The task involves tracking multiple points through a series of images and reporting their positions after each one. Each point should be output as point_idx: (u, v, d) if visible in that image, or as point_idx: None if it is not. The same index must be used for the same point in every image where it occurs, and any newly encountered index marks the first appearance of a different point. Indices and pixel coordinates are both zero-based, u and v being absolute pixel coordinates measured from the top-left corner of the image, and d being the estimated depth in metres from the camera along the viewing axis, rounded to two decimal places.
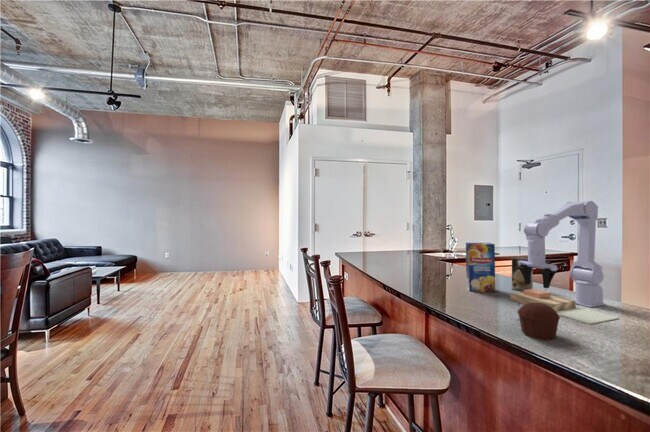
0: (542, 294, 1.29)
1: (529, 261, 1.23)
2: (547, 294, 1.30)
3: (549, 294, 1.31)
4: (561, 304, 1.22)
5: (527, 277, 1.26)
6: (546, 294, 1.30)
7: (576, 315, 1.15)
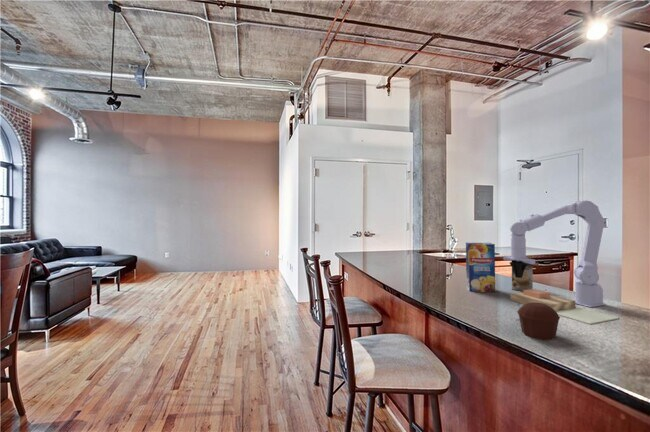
0: (542, 294, 1.29)
1: (512, 256, 1.41)
2: (547, 294, 1.30)
3: (549, 294, 1.31)
4: (561, 304, 1.22)
5: (517, 271, 1.41)
6: (546, 294, 1.30)
7: (576, 315, 1.15)
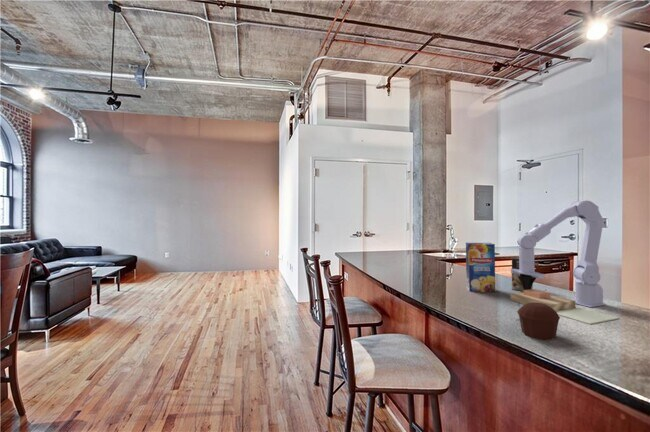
0: (542, 294, 1.29)
1: (520, 270, 1.37)
2: (547, 294, 1.30)
3: (549, 294, 1.31)
4: (561, 304, 1.22)
5: None
6: (546, 294, 1.30)
7: (576, 315, 1.15)
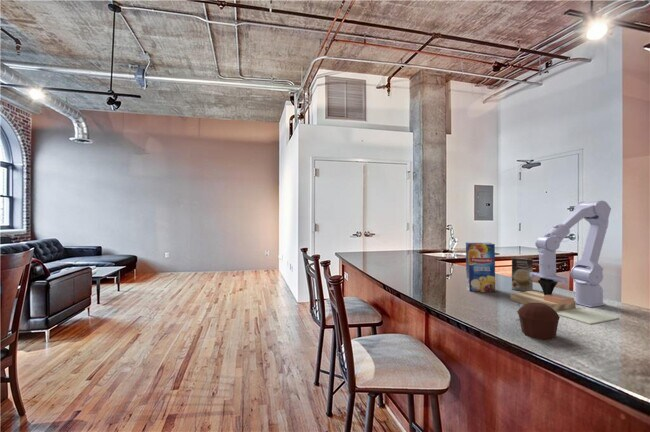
0: (565, 300, 1.21)
1: (540, 273, 1.29)
2: (570, 300, 1.21)
3: (572, 300, 1.22)
4: None
5: None
6: (569, 300, 1.21)
7: (576, 315, 1.15)
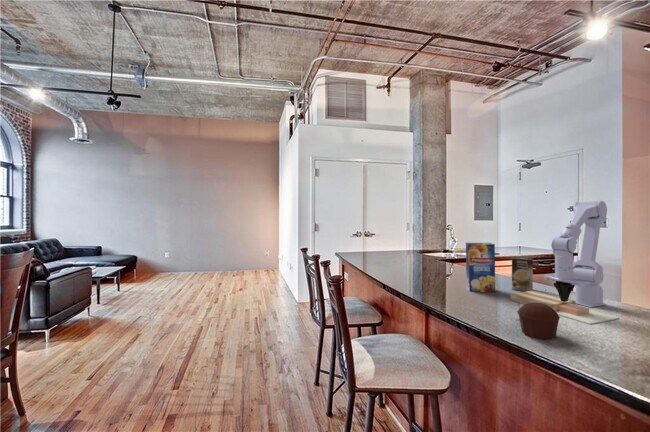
0: (580, 311, 1.15)
1: (556, 276, 1.22)
2: (585, 310, 1.16)
3: (588, 310, 1.17)
4: (561, 304, 1.22)
5: None
6: (584, 310, 1.16)
7: None
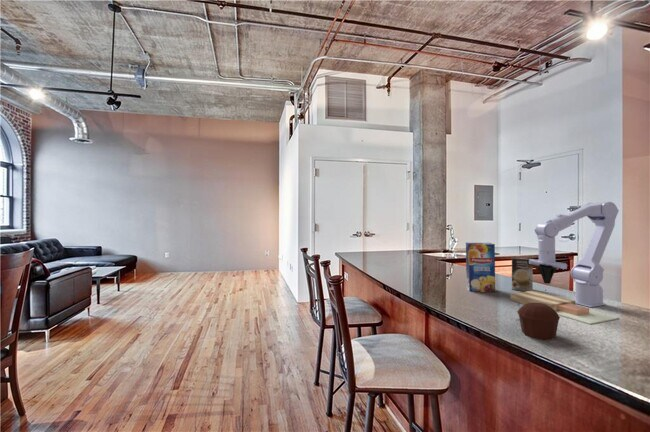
0: (580, 311, 1.15)
1: (540, 260, 1.29)
2: (585, 310, 1.16)
3: (588, 310, 1.17)
4: (561, 304, 1.22)
5: None
6: (584, 310, 1.16)
7: None
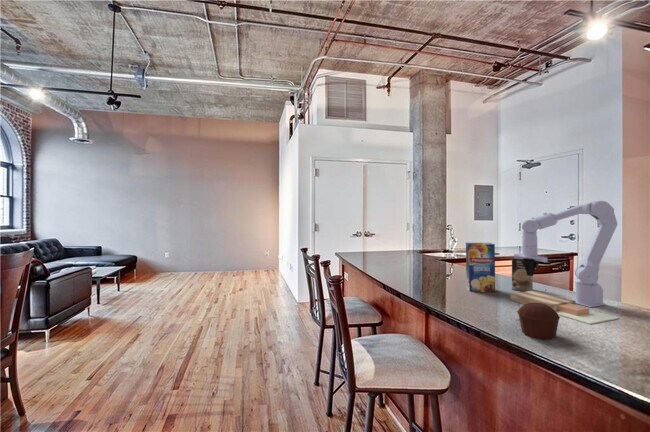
0: (580, 311, 1.15)
1: (523, 254, 1.40)
2: (585, 310, 1.16)
3: (588, 310, 1.17)
4: (561, 304, 1.22)
5: None
6: (584, 310, 1.16)
7: None
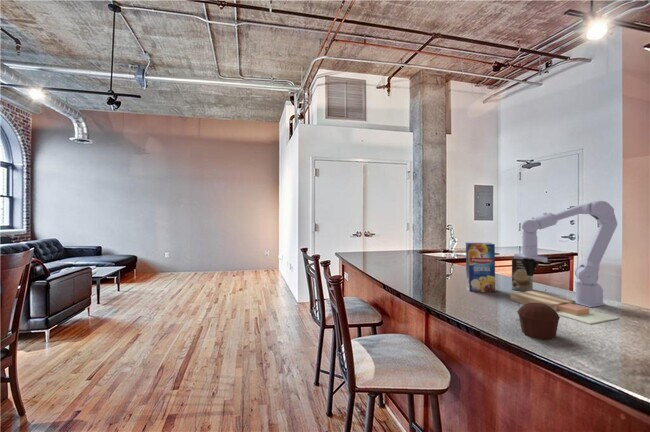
0: (580, 311, 1.15)
1: (523, 254, 1.40)
2: (585, 310, 1.16)
3: (588, 310, 1.17)
4: (561, 304, 1.22)
5: None
6: (584, 310, 1.16)
7: None
